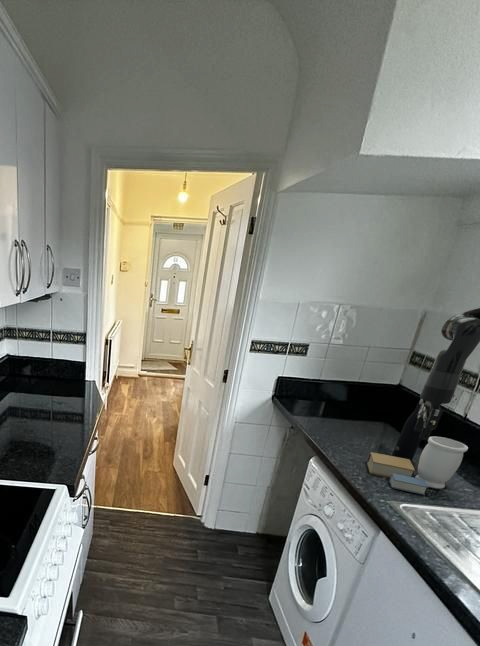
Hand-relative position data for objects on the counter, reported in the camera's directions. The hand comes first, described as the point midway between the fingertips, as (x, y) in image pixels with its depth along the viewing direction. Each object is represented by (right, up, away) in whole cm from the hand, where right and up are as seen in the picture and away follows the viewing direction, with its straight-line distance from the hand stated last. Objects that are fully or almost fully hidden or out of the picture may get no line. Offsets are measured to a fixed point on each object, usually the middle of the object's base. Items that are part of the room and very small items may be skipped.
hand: (420, 435), depth 131 cm
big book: (0, -12, +16) cm, 20 cm away
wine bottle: (+13, -9, +26) cm, 30 cm away
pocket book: (-1, -17, +5) cm, 18 cm away
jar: (+10, -16, +9) cm, 21 cm away
